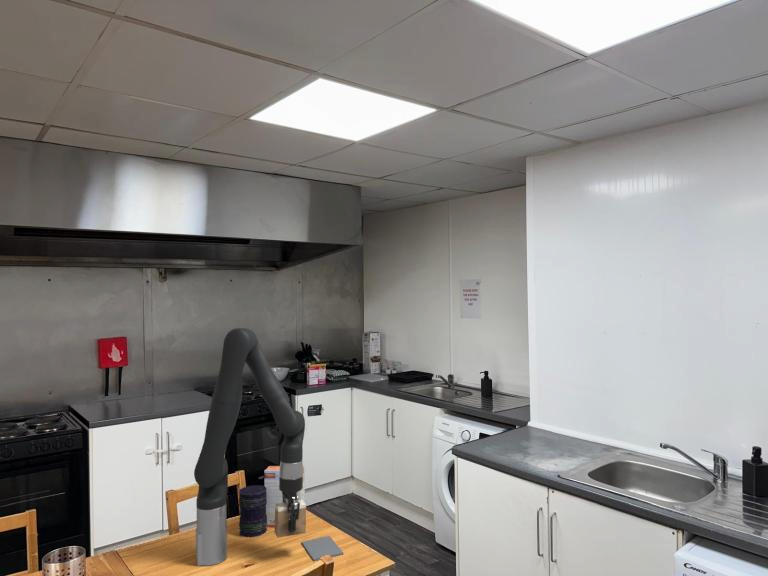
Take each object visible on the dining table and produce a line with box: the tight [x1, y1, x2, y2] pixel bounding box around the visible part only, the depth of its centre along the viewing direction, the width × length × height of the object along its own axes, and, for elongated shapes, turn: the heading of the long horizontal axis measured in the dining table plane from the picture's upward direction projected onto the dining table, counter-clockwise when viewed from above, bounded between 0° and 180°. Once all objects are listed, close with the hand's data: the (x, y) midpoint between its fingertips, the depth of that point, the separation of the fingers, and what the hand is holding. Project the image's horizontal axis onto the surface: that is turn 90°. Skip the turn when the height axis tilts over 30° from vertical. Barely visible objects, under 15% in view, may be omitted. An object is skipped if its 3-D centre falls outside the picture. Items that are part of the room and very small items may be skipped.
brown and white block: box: [274, 500, 307, 539], centre depth 168 cm, size 9×4×9 cm, turn 114°
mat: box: [301, 535, 344, 562], centre depth 173 cm, size 10×14×1 cm
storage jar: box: [238, 484, 268, 539], centre depth 188 cm, size 10×10×15 cm
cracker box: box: [263, 465, 306, 528], centre depth 194 cm, size 14×6×21 cm, turn 84°
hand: (290, 528), depth 167 cm, fingers closed on brown and white block, 4 cm apart
